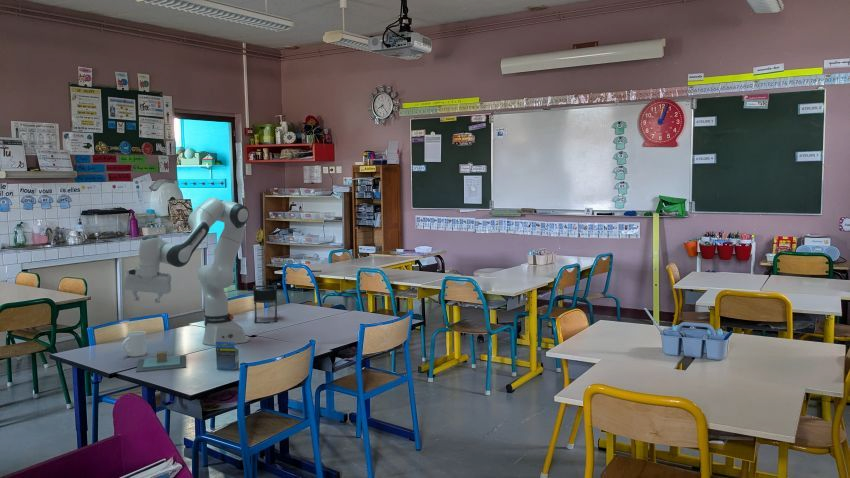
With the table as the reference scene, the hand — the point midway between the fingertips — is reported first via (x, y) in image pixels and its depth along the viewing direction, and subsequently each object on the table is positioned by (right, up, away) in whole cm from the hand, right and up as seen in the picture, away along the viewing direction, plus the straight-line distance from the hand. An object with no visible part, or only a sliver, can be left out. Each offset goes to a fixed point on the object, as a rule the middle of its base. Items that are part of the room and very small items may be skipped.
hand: (147, 301), depth 298 cm
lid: (+9, -27, -4) cm, 28 cm away
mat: (+9, -27, -4) cm, 29 cm away
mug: (-10, -26, +10) cm, 30 cm away
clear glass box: (+32, -20, +88) cm, 96 cm away
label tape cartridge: (+40, -28, -12) cm, 50 cm away
